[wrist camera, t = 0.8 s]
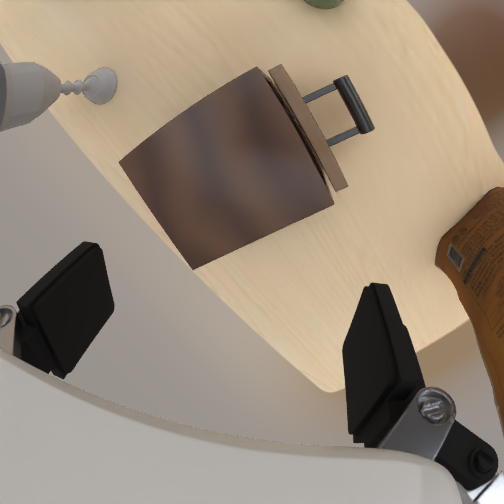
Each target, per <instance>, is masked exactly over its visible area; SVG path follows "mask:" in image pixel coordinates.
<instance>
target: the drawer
mask: <svg viewBox="0 0 504 504" xmlns="http://www.w3.org/2000/svg"><path fill="white" fill-rule="evenodd" d="M268 72H269V73H270V75H271V77H272V78H273V80H274V81H275V83H276V84H277V86H278V88H279V89H280V91H281V93H282V94H283V96H284V97H285V99H286V101H287V102H288V104H289V106H290V108H291V109H292V111H293V113H294V114H295V116H296V118H297V120H298V121H299V123H300V125H301V127H302V128H303V130H304V132H305V134H306V136H307V137H308V139H309V141H310V143H311V145H312V147H313V148H314V150H315V152H316V154H317V156H318V158H319V160H320V162H321V164H322V166H323V168H324V170H325V171H326V173H327V175H328V177H329V179H330V181H331V183H332V186H333V188H334V190H335V192H337V191H339V190H341V189H344V188H346V187H348V184H347V182H346V180H345V178H344V176H343V174H342V172H341V170H340V168H339V165H338V163H337V161H336V159H335V157H334V155H333V153H332V151H331V149H330V148H329V147H330V146H332V145H334V144H337V143H339V142H341V141H343V140H345V139H347V138H350V137H352V136H354V135H356V134H358V133H360V134H366V133H368V132H371V131H372V130H374V129H375V127H374V125H373V123H372V121H371V119H370V117H369V115H368V113H367V111H366V109H365V107H364V105H363V103H362V101H361V99H360V97H359V95H358V93H357V91H356V90H355V88H354V86H353V84H352V82H351V80H350V79H349V77H348V75H345V76H343V77H341V78H338V79H336V80H334V81H333V84H331V85H328V86H326V87H324V88H322V89H320V90H317V91H315V92H313V93H311V94H309V95H307V96H305V97H303V98H302V97H301V95H300V93H299V92H298V90H297V88H296V87H295V85H294V83H293V82H292V80H291V78H290V77H289V75H288V74H287V72H286V71H285V69H284V67H283V66H282V64H280V65H278V66H276V67H274V68H272V69H270V70H269V71H268ZM336 89H337V90H338V92H339V94H340V96H341V97H342V99H343V101H344V103H345V105H346V107H347V109H348V111H349V112H350V114H351V116H352V118H353V120H354V122H355V124H356V126H357V127H354V128H351V129H349V130H347V131H345V132H343V133H341V134H338V135H336V136H334V137H332V138H330V139H328V140H325V138H324V136H323V134H322V132H321V130H320V129H319V127H318V125H317V123H316V121H315V119H314V118H313V116H312V114H311V112H310V111H309V109H308V107H307V105H306V103H308V102H310V101H312V100H314V99H316V98H318V97H321V96H323V95H325V94H327V93H329V92H332V91H334V90H336Z"/></svg>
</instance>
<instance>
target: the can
mask: <svg viewBox="0 0 504 504" xmlns="http://www.w3.org/2000/svg"><path fill="white" fill-rule="evenodd" d="M305 1H306V2H307V3H308V4H310V5H312V6H315V7H318V8H333V7H336V6H338V5H339V4H341V3H342V1H343V0H305Z"/></svg>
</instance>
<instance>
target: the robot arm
mask: <svg viewBox="0 0 504 504" xmlns="http://www.w3.org/2000/svg"><path fill="white" fill-rule="evenodd" d="M17 305H18V307H19V309H20V311H19V312H18V313H17V312H16V310H15V308H14V307H13V306H11V305H2V306H0V504H504V473H503V472H502V471H501V472H500V473H498V472H497V469H498V457H497V454H496V452H495V450H494V449H493V448H492V447H491V446H490V445H489V444H488V443H486V442H485V441H483V440H482V439H481V438H479V437H478V436H476V435H475V434H474V433H472V432H471V431H470V430H468V429H467V428H465V427H464V426H463V425H461V424H460V423H459V422H457V421H456V420H455V416H456V406H455V403H454V401H453V399H452V398H451V397H450V395H449V394H448V393H446V392H445V391H444V390H442V389H440V388H437V387H426V386H425V383H424V380H423V376H422V373H421V369H420V366H419V363H418V360H417V356H416V353H415V350H414V347H413V344H412V341H411V338H410V335H409V332H408V330H407V328H406V326H405V325H403V323H402V320H401V317H400V314H399V312H398V309H397V306H396V304H395V301H394V298H393V296H392V293H391V290H390V288H389V286H388V285H387V284H380V283H371V284H370V285H369V286H365V287H364V289H363V292H362V295H361V298H360V301H359V303H358V306H357V309H356V312H355V315H354V317H353V320H352V323H351V325H350V328H349V331H348V333H347V336H346V338H345V341H344V344H343V349H342V354H343V365H344V376H345V388H346V402H347V416H348V417H347V418H348V432H349V434H353V441H354V443H364V446H365V448H359V447H340V446H319V445H305V444H294V443H285V442H276V441H268V440H260V439H254V438H247V437H241V436H235V435H229V434H224V433H219V432H214V431H209V430H205V429H201V428H197V427H192V426H188V425H184V424H180V423H177V422H173V421H169V420H166V419H162V418H158V417H155V416H152V415H149V414H145V413H142V412H139V411H136V410H133V409H130V408H127V407H125V406H122V405H119V404H116V403H114V402H111V401H108V400H105V399H103V398H101V397H98V396H96V395H93V394H91V393H88V392H86V391H84V390H81V389H79V388H77V387H74V386H72V385H70V384H68V383H66V382H63V381H61V380H59V379H57V378H55V377H53V376H51V375H49V372H50V371H52V373H53V374H54V375H55V376H58V377H59V378H62V379H64V378H65V376H66V375H67V374H68V373H70V372H71V371H72V370H73V369H74V367H75V366H76V364H77V363H78V361H79V360H80V358H81V357H82V355H83V354H84V352H85V351H86V350H87V348H88V347H89V345H90V344H91V342H92V341H93V340H94V338H95V337H96V335H97V334H98V333H99V331H100V330H101V328H102V327H103V326H104V324H105V323H106V322H107V320H108V319H109V317H110V316H111V315H112V313H113V311H114V301H113V297H112V293H111V288H110V284H109V280H108V275H107V270H106V266H105V261H104V255H103V251H102V249H101V248H100V247H99V245H98V244H97V243H92V242H82V243H81V244H80V245H79V246H78V247H76V248H75V249H74V250H73V251H71V252H70V253H69V254H68V255H67V256H66V257H64V258H63V259H62V260H61V261H60V262H59V263H58V264H57V265H55V266H54V267H53V268H52V269H51V270H50V271H49V272H48V273H46V274H45V275H44V276H43V277H42V278H41V279H40V280H39V281H38V282H37V283H36V284H35V285H34V286H32V287H31V288H30V289H29V290H28V291H27V292H26V293H25V294H24V295H23V296H22V297H21V298H20V299H19V300H18V301H17Z"/></svg>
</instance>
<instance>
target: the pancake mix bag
mask: <svg viewBox="0 0 504 504" xmlns="http://www.w3.org/2000/svg"><path fill="white" fill-rule="evenodd" d="M435 265H436V266H437V267H438V268H440V269H441V270H442V271H443V272H444V273H445V274H446V275H447V276H448V277H449V279H450V280H451V281H452V283H453V284H454V286H455V288H456V290H457V293H458V297H459V300H460V301H461V303H462V305H463V307H464V309H465V311H466V312H467V314H468V316H469V318H470V320H471V322H472V325H473V328H474V331H475V335H476V339H477V343H478V346H479V349H480V353H481V356H482V358H483V362H484V365H485V368H486V370H487V373H488V376H489V378H490V381H491V385H492V388H493V394H494V402H495V405H496V409H497V412H498V415H499V419H500V424H501V428H502V432H503V436H504V188H502V187H496V188H494V189H492V190H490V191H489V192H488V193H487V194H486V195H485V196H484V197H483V198H482V199H481V200H480V201H479V202H478V203H477V204H476V205H475V206H474V207H473V208H472V209H471V210H470V211H469V212H468V213H467V215H466V216H465V217H464V218H463V219H462V220H461V221H460V222H459V223H457V224H456V225H455V226H454V227H453V228H452V229H451V230H449V231H448V232H447V233H446V234H445V235H444V236H443V237H442V238H441V240H440V243H439V245H438V248H437V254H436V261H435Z"/></svg>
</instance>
